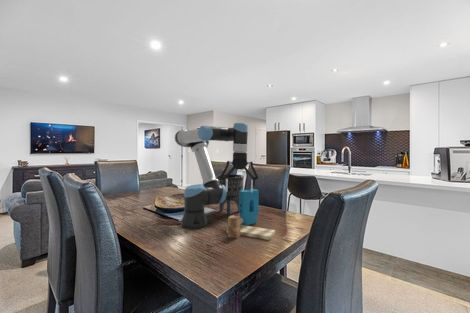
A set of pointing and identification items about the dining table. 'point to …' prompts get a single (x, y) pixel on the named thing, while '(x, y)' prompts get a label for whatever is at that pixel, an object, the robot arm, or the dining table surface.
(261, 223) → the dining table surface
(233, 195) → the planter
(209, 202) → the robot arm
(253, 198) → the block
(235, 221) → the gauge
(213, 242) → the dining table surface
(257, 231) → the board
